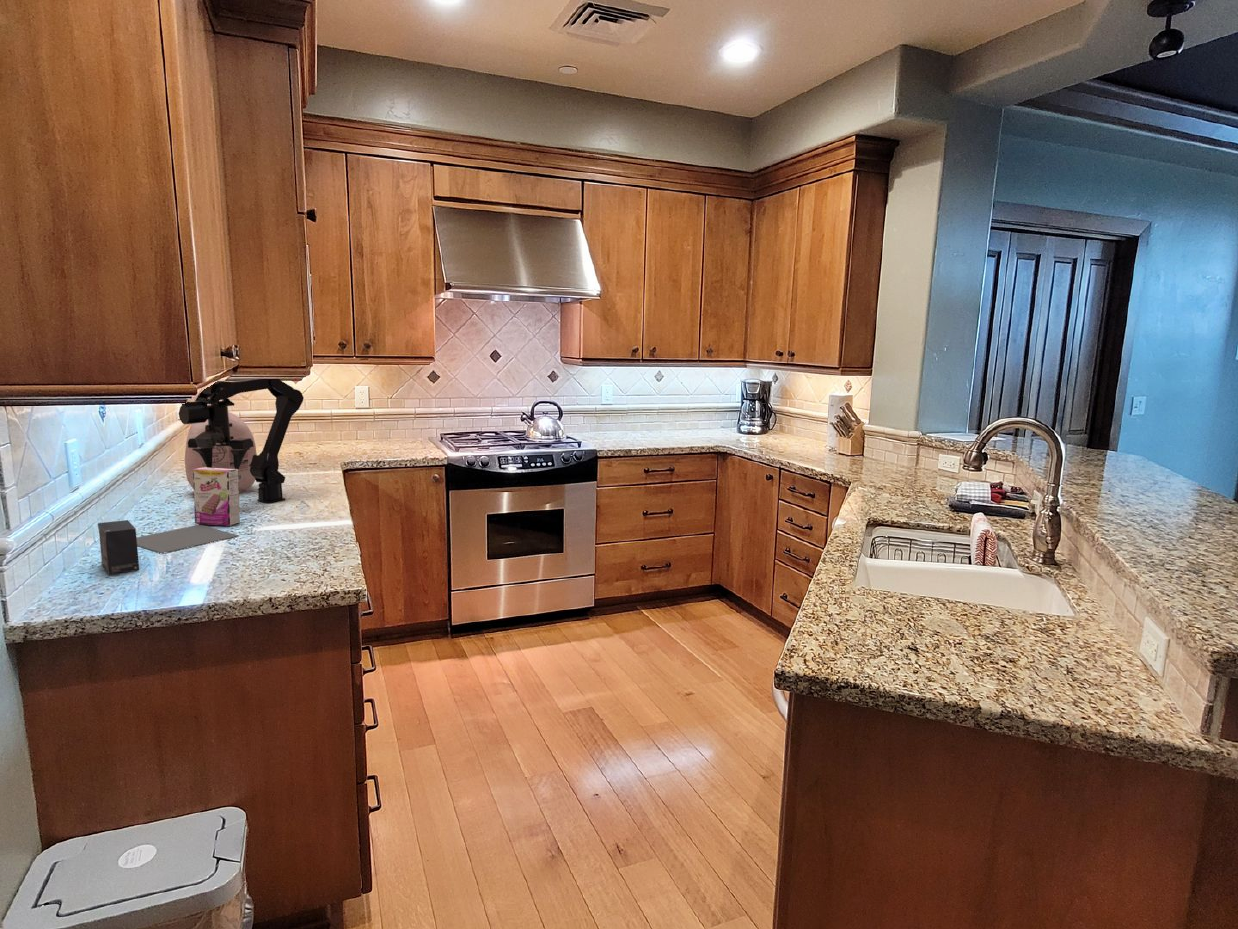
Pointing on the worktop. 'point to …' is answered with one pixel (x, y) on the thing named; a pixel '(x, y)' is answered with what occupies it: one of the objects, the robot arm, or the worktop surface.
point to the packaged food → (222, 453)
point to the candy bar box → (216, 496)
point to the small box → (118, 547)
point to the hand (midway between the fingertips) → (223, 469)
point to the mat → (182, 538)
